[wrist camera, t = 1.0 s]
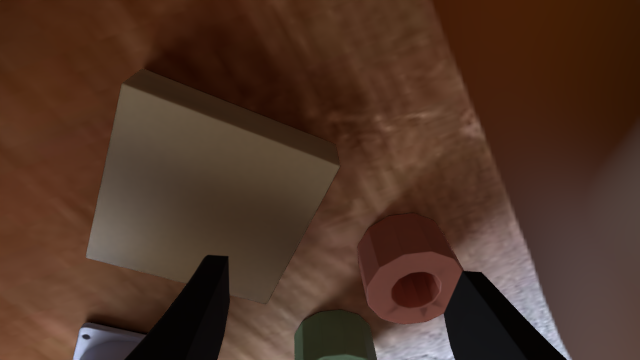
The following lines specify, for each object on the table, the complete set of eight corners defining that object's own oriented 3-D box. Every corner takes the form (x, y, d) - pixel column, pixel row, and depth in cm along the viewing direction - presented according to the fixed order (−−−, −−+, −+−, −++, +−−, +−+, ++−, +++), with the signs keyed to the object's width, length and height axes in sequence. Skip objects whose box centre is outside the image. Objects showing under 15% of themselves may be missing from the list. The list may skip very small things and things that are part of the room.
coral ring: (414, 289, 26) (430, 332, 23) (343, 268, 25) (350, 311, 22) (460, 229, 24) (485, 269, 21) (384, 202, 22) (399, 240, 19)
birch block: (268, 274, 25) (266, 305, 22) (105, 228, 22) (84, 257, 20) (335, 144, 20) (341, 166, 18) (142, 67, 18) (121, 82, 16)
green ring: (349, 365, 30) (355, 411, 27) (283, 350, 29) (282, 397, 25) (383, 320, 28) (394, 365, 25) (313, 301, 26) (316, 346, 23)
